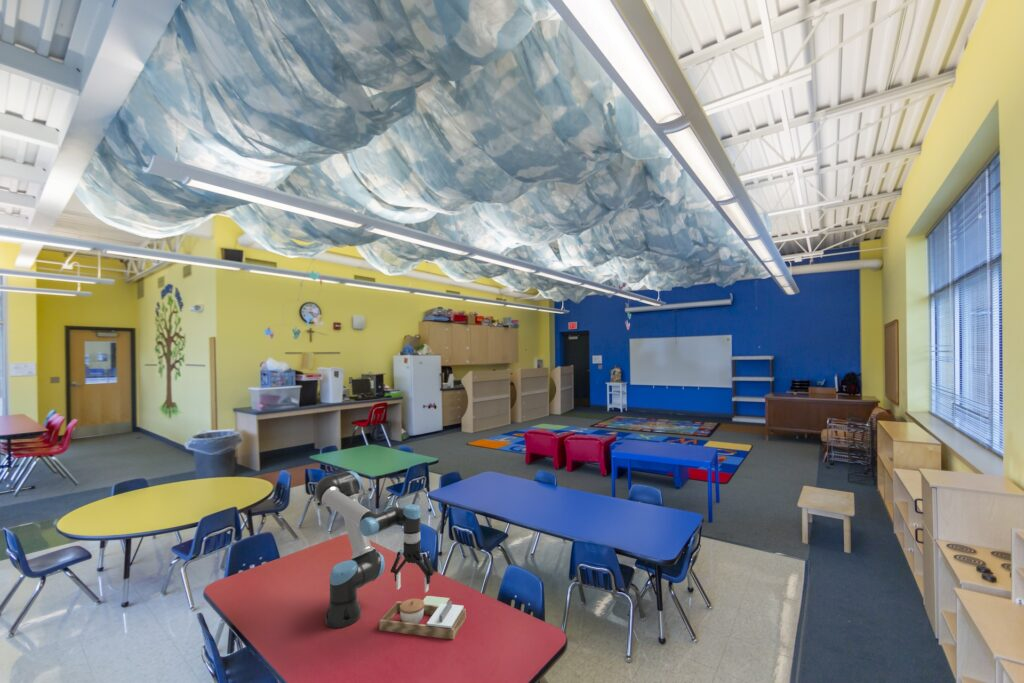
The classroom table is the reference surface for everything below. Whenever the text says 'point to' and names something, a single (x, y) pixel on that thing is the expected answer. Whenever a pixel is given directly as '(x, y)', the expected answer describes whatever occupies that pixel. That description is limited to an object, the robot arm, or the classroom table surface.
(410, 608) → the lidded jar
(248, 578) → the classroom table surface
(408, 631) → the wooden rectangular frame
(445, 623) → the lid
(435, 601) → the mat
